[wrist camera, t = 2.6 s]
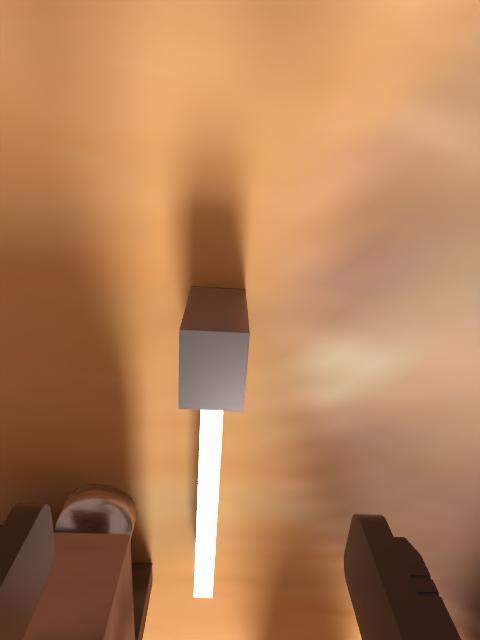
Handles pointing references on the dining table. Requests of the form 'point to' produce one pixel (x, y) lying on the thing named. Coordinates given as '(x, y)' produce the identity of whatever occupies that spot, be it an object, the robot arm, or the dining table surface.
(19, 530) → the robot arm
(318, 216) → the dining table surface
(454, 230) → the dining table surface
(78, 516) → the steel token
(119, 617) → the walnut cabinet
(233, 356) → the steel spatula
